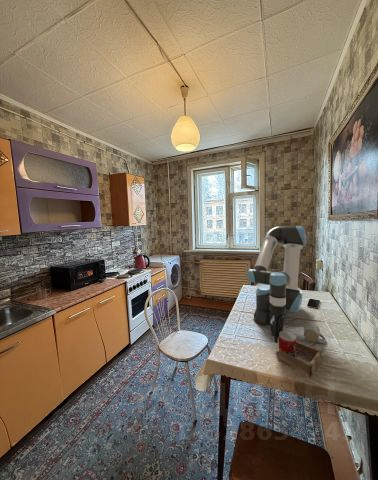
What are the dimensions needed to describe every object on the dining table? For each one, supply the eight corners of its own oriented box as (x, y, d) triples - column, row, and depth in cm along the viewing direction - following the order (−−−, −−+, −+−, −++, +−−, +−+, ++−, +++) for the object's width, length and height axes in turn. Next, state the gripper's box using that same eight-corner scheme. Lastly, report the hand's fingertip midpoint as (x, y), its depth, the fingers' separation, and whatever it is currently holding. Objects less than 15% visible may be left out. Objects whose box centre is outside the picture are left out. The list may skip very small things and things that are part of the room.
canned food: (288, 363, 96) (289, 341, 94) (275, 353, 103) (275, 333, 101) (299, 358, 99) (300, 337, 98) (285, 348, 106) (285, 329, 105)
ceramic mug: (303, 340, 112) (303, 327, 111) (303, 333, 119) (304, 320, 118) (326, 346, 107) (327, 333, 106) (325, 338, 114) (326, 325, 113)
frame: (290, 347, 107) (290, 338, 106) (321, 360, 96) (321, 351, 96) (278, 360, 98) (278, 351, 97) (310, 377, 87) (311, 366, 87)
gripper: (276, 298, 109) (275, 339, 112) (263, 305, 101) (263, 349, 103) (290, 302, 104) (289, 345, 106) (278, 310, 95) (278, 356, 98)
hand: (276, 347), depth 105 cm, fingers closed
